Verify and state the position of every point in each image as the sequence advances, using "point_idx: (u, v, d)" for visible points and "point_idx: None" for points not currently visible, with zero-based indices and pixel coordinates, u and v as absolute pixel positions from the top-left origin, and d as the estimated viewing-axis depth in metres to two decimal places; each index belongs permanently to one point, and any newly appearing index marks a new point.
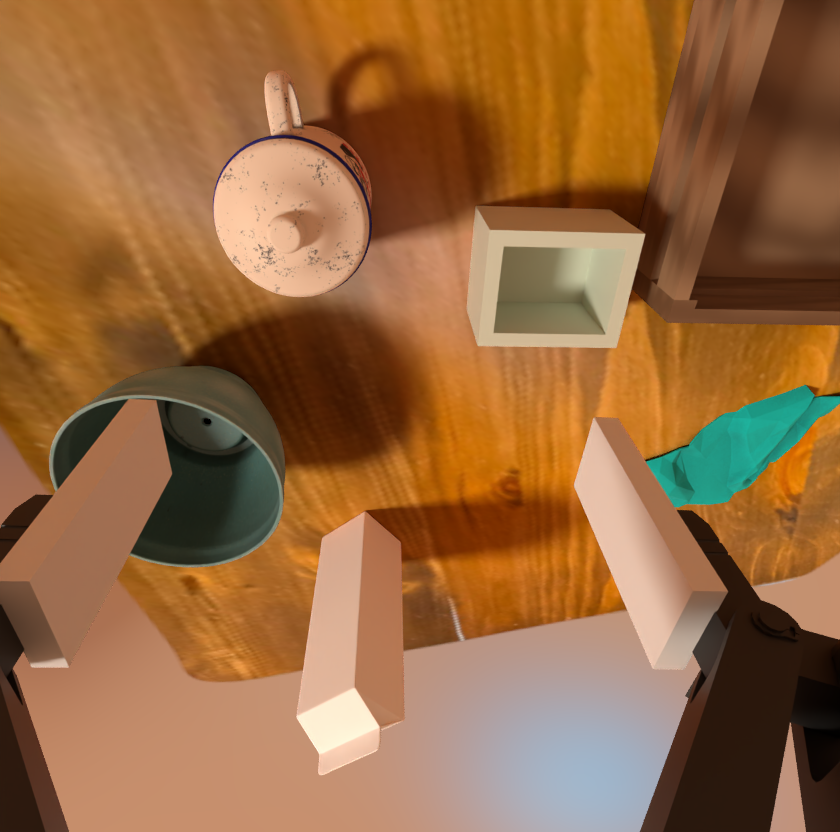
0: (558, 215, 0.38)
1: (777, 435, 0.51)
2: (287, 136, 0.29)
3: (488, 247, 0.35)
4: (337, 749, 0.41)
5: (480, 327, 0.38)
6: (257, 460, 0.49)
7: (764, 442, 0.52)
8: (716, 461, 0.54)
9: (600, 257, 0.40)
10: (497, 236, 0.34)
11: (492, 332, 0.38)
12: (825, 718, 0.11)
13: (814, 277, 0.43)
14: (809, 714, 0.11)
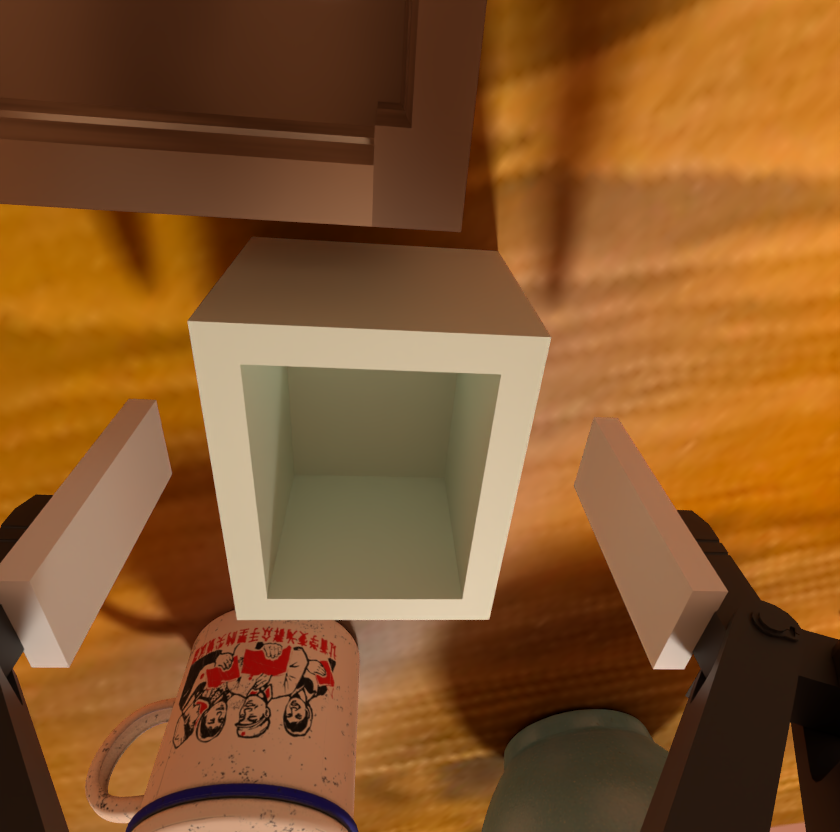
0: None
1: None
2: None
3: (273, 617, 0.17)
4: None
5: (446, 617, 0.18)
6: None
7: None
8: None
9: None
10: (248, 608, 0.17)
11: (460, 600, 0.17)
12: (825, 718, 0.11)
13: None
14: (808, 714, 0.11)
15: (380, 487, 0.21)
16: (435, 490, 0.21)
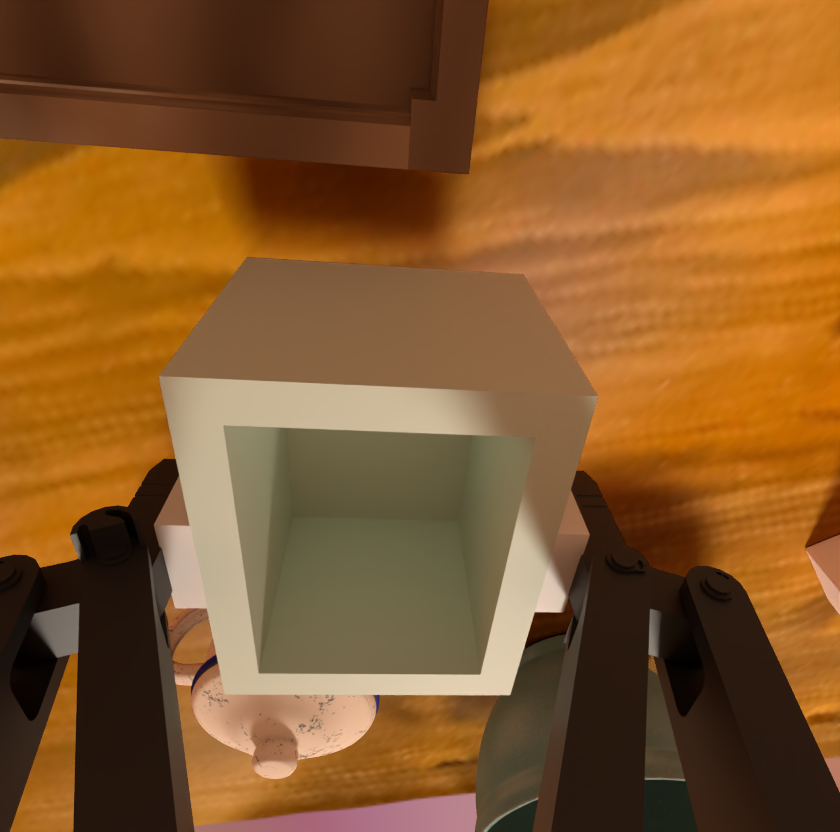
0: None
1: None
2: None
3: (265, 691, 0.15)
4: None
5: (462, 692, 0.16)
6: None
7: None
8: None
9: None
10: (237, 683, 0.15)
11: (478, 675, 0.15)
12: (672, 648, 0.12)
13: None
14: (658, 644, 0.12)
15: (388, 532, 0.19)
16: (448, 536, 0.19)
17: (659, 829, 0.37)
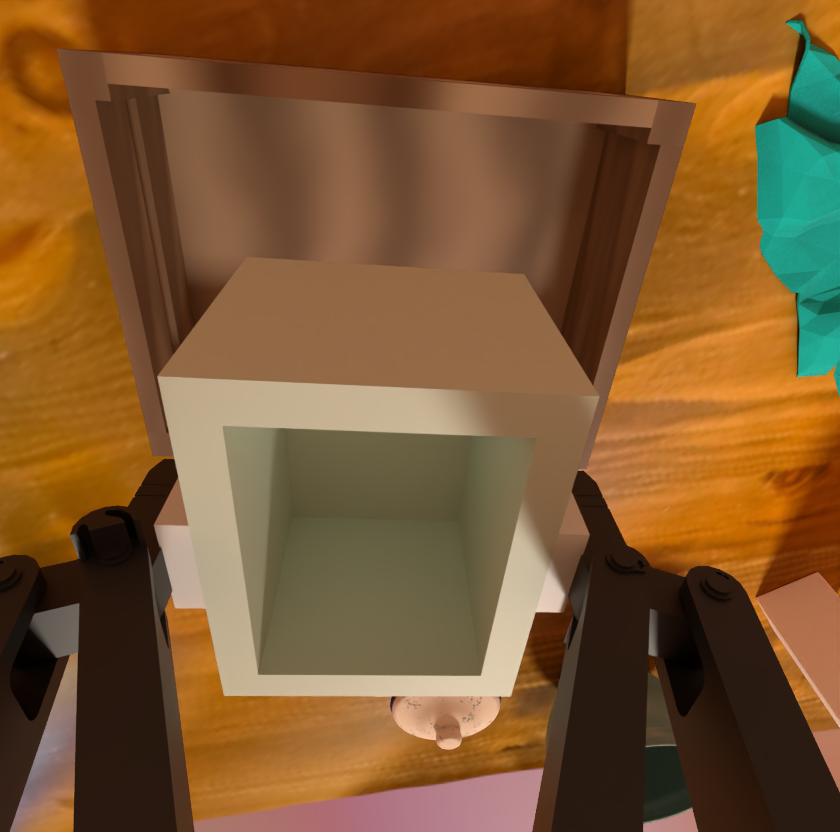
0: None
1: (837, 167, 0.30)
2: (391, 704, 0.44)
3: (265, 692, 0.15)
4: None
5: (462, 694, 0.15)
6: None
7: None
8: None
9: None
10: (236, 684, 0.15)
11: (479, 676, 0.15)
12: (672, 648, 0.12)
13: (592, 186, 0.30)
14: (658, 644, 0.12)
15: (388, 533, 0.19)
16: (448, 536, 0.19)
17: (664, 784, 0.55)
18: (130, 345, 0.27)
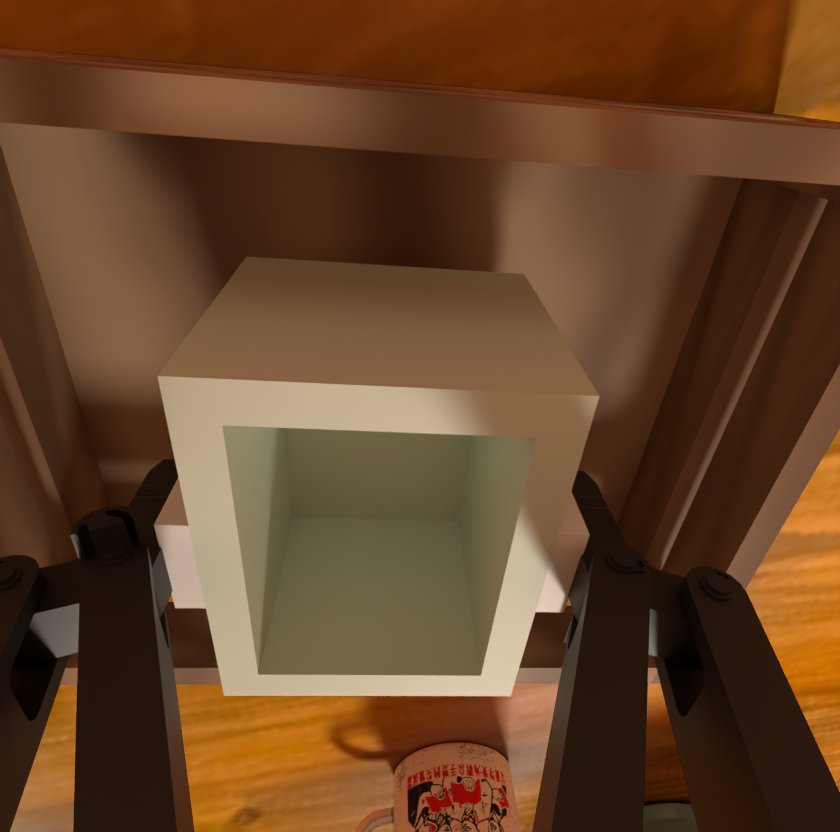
0: None
1: None
2: None
3: (265, 692, 0.15)
4: None
5: (462, 693, 0.15)
6: None
7: None
8: None
9: None
10: (236, 684, 0.15)
11: (479, 676, 0.15)
12: (672, 648, 0.12)
13: (711, 258, 0.19)
14: (658, 644, 0.12)
15: (388, 533, 0.19)
16: (449, 536, 0.19)
17: None
18: None
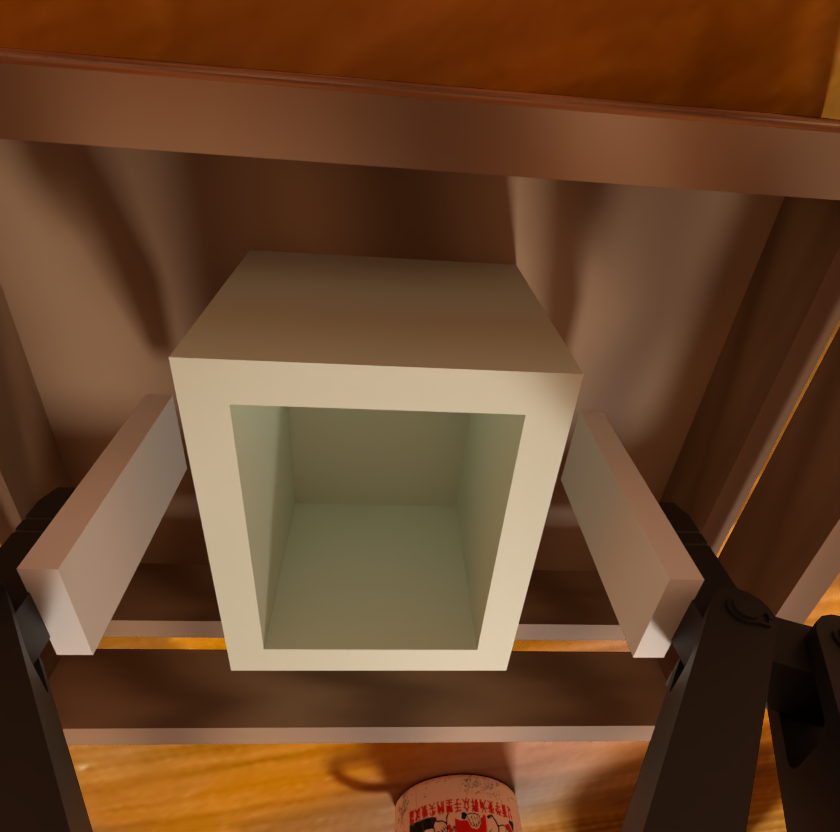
0: None
1: None
2: None
3: (270, 667, 0.16)
4: None
5: (459, 668, 0.16)
6: None
7: None
8: None
9: None
10: (243, 659, 0.15)
11: (475, 650, 0.16)
12: (798, 704, 0.11)
13: (748, 278, 0.17)
14: (782, 700, 0.11)
15: (387, 517, 0.20)
16: (447, 521, 0.20)
17: None
18: None
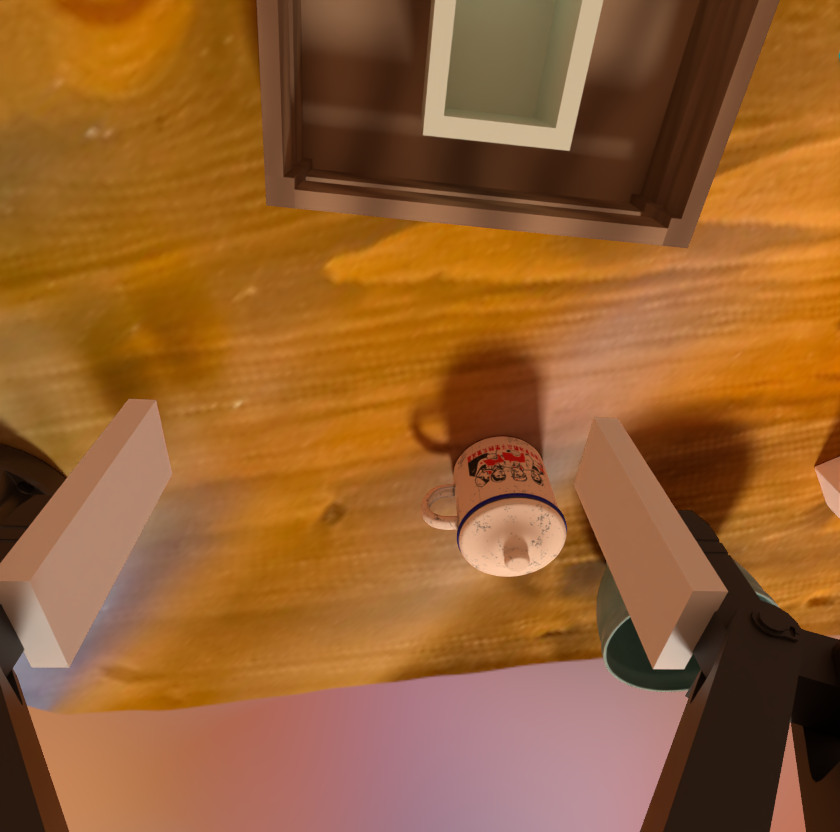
0: (431, 12, 0.30)
1: None
2: (458, 531, 0.45)
3: (443, 136, 0.29)
4: None
5: (544, 146, 0.30)
6: None
7: None
8: None
9: None
10: (431, 124, 0.29)
11: (554, 129, 0.29)
12: (825, 718, 0.11)
13: None
14: (809, 714, 0.11)
15: (494, 114, 0.33)
16: (529, 118, 0.33)
17: None
18: (263, 64, 0.27)
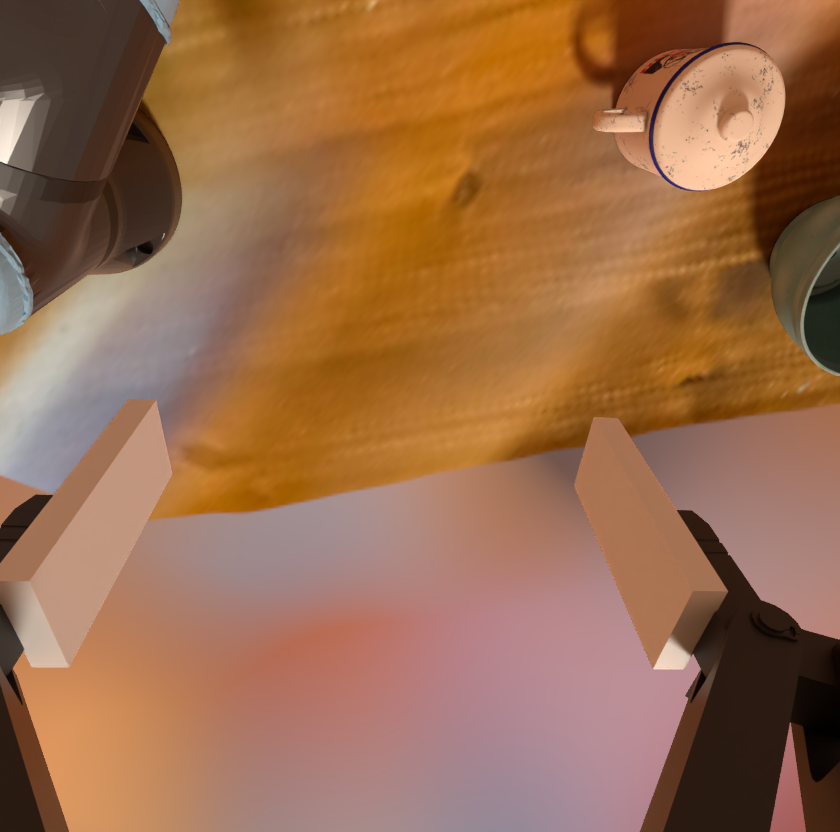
0: None
1: None
2: (654, 115, 0.37)
3: None
4: None
5: None
6: None
7: None
8: None
9: None
10: None
11: None
12: (825, 719, 0.11)
13: None
14: (808, 714, 0.11)
15: None
16: None
17: None
18: None
